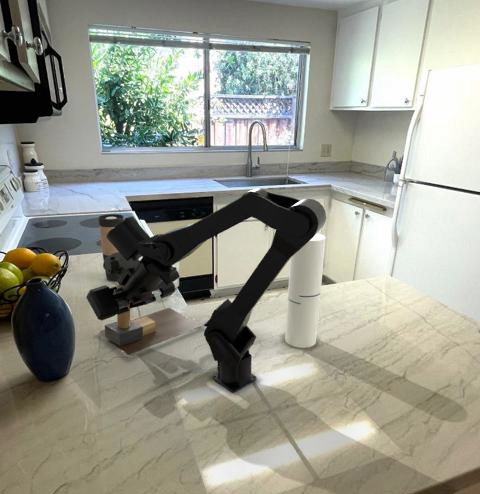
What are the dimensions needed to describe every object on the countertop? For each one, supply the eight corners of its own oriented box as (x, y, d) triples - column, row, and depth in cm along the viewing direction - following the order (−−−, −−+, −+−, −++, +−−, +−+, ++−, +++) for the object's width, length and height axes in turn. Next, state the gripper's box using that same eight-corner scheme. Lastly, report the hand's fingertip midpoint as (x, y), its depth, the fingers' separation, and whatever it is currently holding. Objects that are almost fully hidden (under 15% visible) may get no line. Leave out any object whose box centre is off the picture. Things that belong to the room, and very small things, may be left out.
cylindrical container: (315, 349, 90) (325, 242, 81) (283, 345, 92) (290, 239, 82) (316, 334, 97) (325, 233, 87) (286, 331, 98) (292, 231, 89)
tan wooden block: (156, 331, 95) (155, 321, 94) (141, 336, 93) (140, 327, 92) (147, 325, 98) (146, 316, 97) (132, 330, 95) (131, 321, 94)
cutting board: (201, 329, 98) (201, 325, 98) (128, 360, 86) (127, 355, 85) (169, 311, 108) (169, 307, 107) (98, 336, 95) (97, 331, 95)
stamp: (142, 338, 92) (143, 284, 88) (119, 346, 87) (118, 289, 83) (127, 330, 96) (127, 277, 92) (104, 337, 91) (103, 282, 87)
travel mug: (104, 275, 133) (96, 215, 125) (127, 272, 136) (121, 213, 128) (107, 283, 126) (99, 220, 119) (132, 279, 129) (125, 218, 122)
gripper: (164, 233, 87) (137, 269, 98) (85, 251, 74) (64, 290, 85) (190, 276, 86) (159, 308, 97) (113, 302, 73) (88, 336, 83)
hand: (120, 309), depth 90 cm, fingers closed on stamp, 3 cm apart
